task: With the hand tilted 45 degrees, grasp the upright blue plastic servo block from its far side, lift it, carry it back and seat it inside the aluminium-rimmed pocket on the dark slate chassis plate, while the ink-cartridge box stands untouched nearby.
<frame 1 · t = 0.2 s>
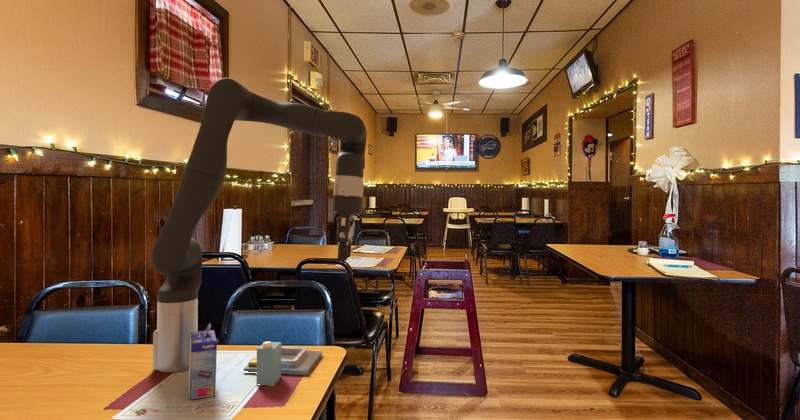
hand: (344, 258, 105), 28 cm above the table, tool pointing down, fingers open, 8 cm apart
chassis plate: (285, 363, 109), on the table
servo: (269, 381, 98), on the table
ink cartridge box: (202, 391, 93), on the table
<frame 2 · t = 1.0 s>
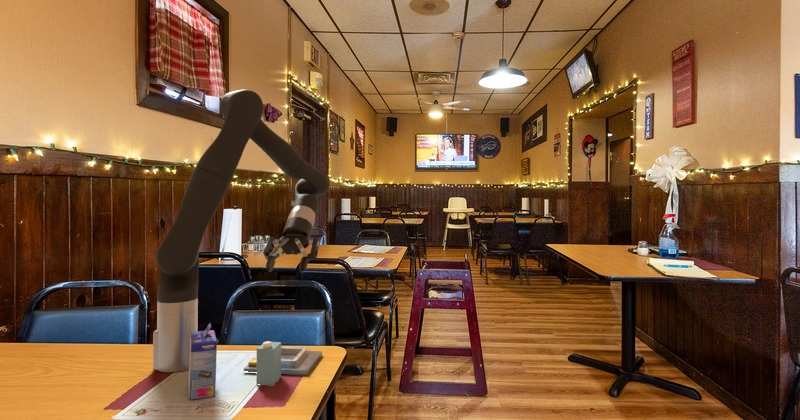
hand: (284, 270, 109), 25 cm above the table, tool tilted 45°, fingers open, 8 cm apart
nothing on the table moved.
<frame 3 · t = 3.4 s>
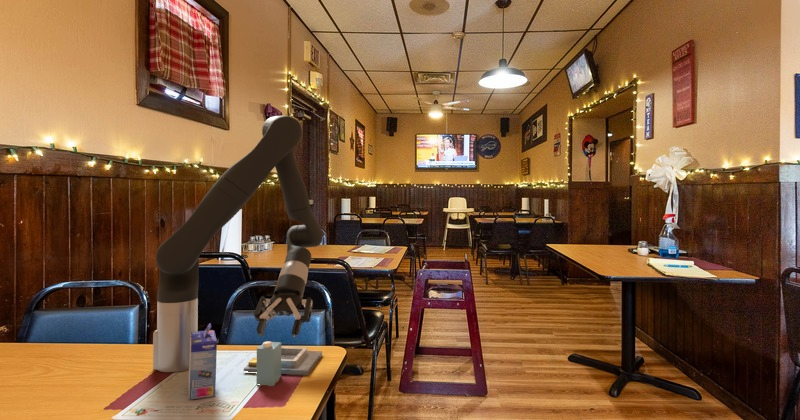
hand: (276, 335, 103), 9 cm above the table, tool tilted 45°, fingers open, 8 cm apart
nothing on the table moved.
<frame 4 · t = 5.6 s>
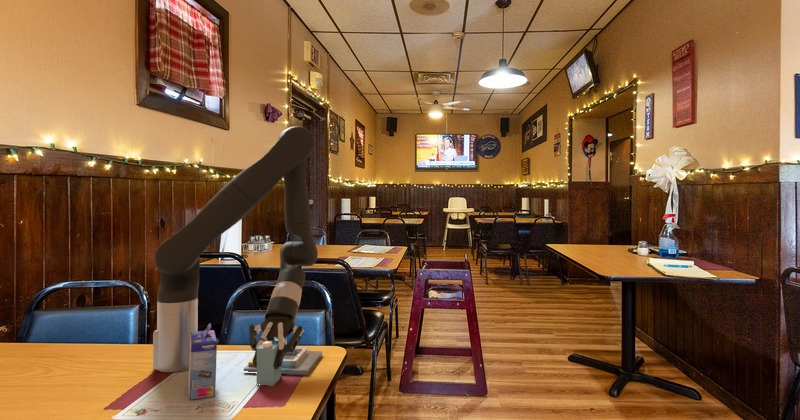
hand: (266, 366, 96), 4 cm above the table, tool tilted 45°, fingers closed on servo, 4 cm apart
servo: (269, 381, 98), on the table, touching gripper
everything else where it was.
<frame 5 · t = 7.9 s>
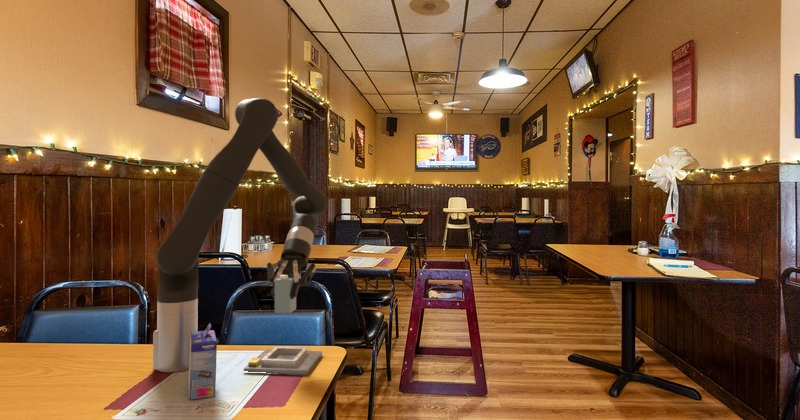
hand: (283, 296, 107), 18 cm above the table, tool tilted 45°, fingers closed on servo, 4 cm apart
servo: (285, 310, 109), point 14 cm above the table, touching gripper
everything else where it was.
when the fingers open (6 cm above the table, at t = 10.5 s): servo stays where it is, resting on chassis plate.
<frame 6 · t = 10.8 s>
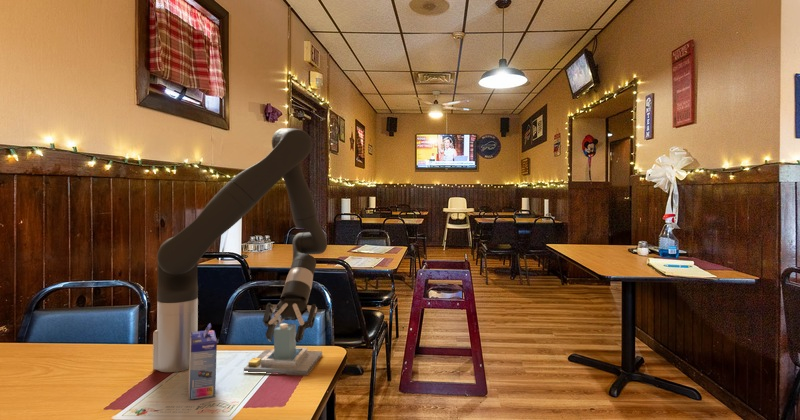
hand: (283, 340, 108), 7 cm above the table, tool tilted 45°, fingers open, 7 cm apart
servo: (285, 359, 109), point 1 cm above the table, touching chassis plate
everything else where it was.
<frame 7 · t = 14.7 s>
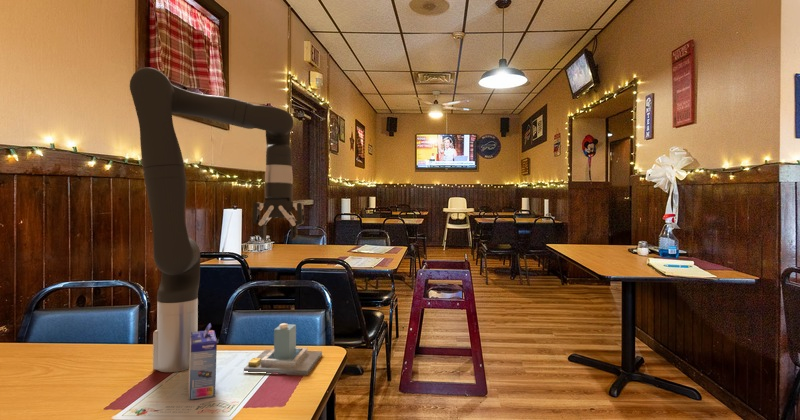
hand: (278, 239, 118), 32 cm above the table, tool pointing down, fingers open, 8 cm apart
nothing on the table moved.
at the end: servo 0.1 cm off-centre on the chassis plate, point 1.2 cm above the chassis plate's base; servo tilted 0°; the gripper is holding nothing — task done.
